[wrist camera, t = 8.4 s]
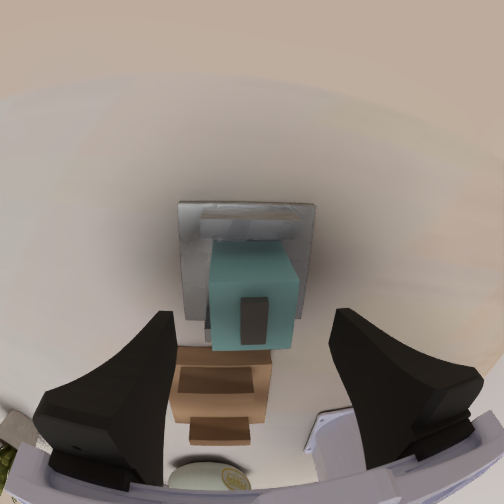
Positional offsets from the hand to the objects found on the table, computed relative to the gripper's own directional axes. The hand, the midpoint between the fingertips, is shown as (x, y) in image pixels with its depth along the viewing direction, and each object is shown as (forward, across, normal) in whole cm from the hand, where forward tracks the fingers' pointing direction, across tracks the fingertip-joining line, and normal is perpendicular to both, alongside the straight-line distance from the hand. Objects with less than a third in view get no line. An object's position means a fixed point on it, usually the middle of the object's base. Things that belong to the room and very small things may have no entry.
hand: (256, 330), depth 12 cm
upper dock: (+7, +2, +11) cm, 13 cm away
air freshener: (+7, +4, +31) cm, 32 cm away
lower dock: (+7, 0, 0) cm, 7 cm away
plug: (+6, 0, 0) cm, 6 cm away
